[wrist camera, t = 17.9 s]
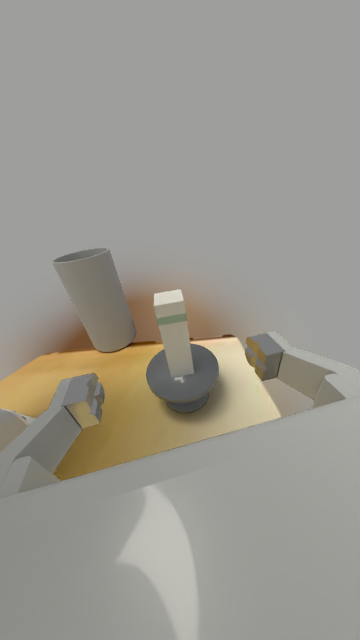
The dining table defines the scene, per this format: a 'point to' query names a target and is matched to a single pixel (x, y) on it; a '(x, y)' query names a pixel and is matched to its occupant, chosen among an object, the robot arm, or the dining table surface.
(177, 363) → the column
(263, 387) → the dining table surface
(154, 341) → the dining table surface
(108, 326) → the cylinder vase
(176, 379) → the pedestal
